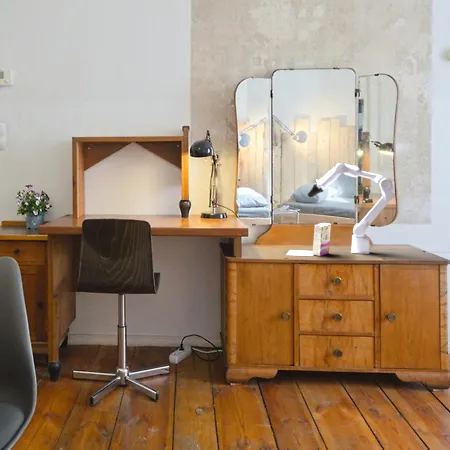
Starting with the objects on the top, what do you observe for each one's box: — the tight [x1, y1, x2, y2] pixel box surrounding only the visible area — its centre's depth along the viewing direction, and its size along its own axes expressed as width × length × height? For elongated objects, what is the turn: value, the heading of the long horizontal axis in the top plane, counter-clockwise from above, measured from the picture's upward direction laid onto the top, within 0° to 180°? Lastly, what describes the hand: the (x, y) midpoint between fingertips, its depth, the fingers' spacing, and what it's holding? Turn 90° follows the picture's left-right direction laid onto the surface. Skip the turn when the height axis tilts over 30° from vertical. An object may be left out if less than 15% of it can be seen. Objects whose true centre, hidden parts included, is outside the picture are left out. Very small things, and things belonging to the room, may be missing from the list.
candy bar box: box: [312, 222, 332, 257], centre depth 240 cm, size 11×5×16 cm, turn 143°
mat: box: [285, 249, 314, 257], centre depth 244 cm, size 14×16×1 cm
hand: (309, 196), depth 253 cm, fingers open, 7 cm apart
